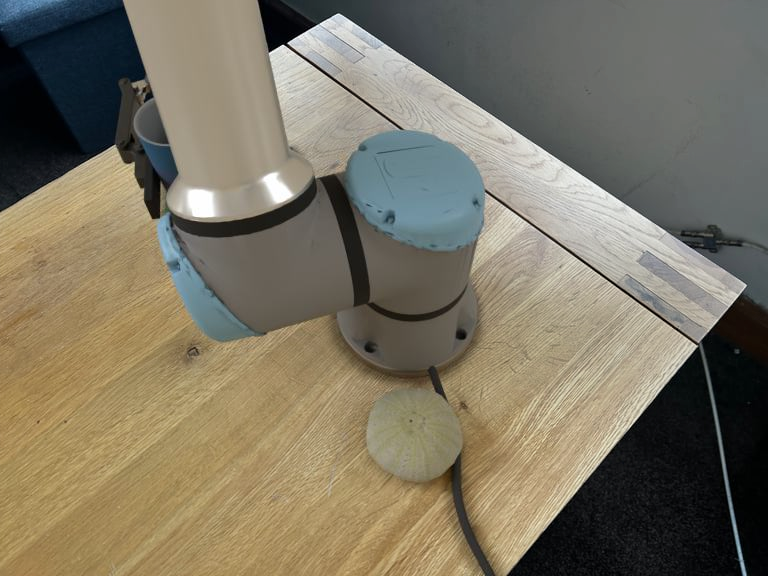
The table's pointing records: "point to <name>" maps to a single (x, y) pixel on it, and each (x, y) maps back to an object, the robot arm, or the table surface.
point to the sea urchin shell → (413, 434)
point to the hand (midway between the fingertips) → (188, 205)
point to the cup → (155, 142)
